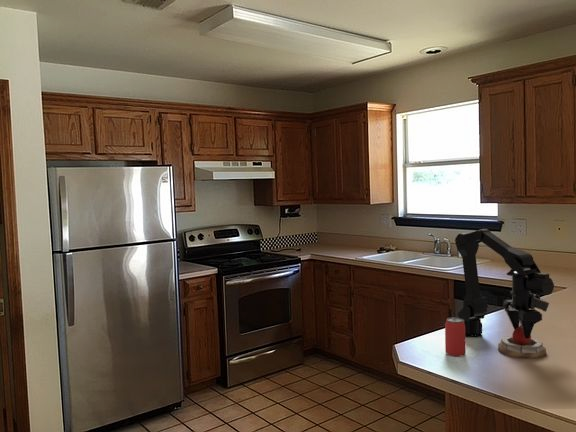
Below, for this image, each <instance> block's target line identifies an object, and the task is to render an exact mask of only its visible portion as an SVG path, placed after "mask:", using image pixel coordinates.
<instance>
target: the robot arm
mask: <svg viewBox="0 0 576 432" xmlns="http://www.w3.org/2000/svg"><path fill="white" fill-rule="evenodd" d="M454 242H455V247H456V250H457V251H458V253H459V255H461V257H462V258H461V260H462V266H463V275H464V284H465V292H466V293H465V296H464V299H463V302H462V306H463V307H462V308H461V310H459V311H458V313H457V318H460V319H463V320H464V321H463V322H464V324H465V338H466V337H467V338H468V337H469V338H470V337H471V338H472V337H483V322H482V319H485V315H486V313H488V308H489V305H488V298H487V297H486V296H483V294H482V293H481V290H480V281H479V273H478V265H477V253H478V251H479V247H480V243H483V244H484V245H486V246H487V247H488V248H489V249H491V250H492V251H494V253H496V254H498V255H499V256H501V257H502V258H503V260H504V262H505V265H507V266H508V267H509V268H510V270H508V272H507V273H506V275H507V276H511V277H512V278H511V282H512V283H511V285H512V286H511V291H509V295H510V296H511V297H512V298H511V299H505V300H504V301H503V302H502V308H503V309H504V311H505V312H506V315H507V317H508V319H509V321H510V323H511V325H512V327H513V331H514V330H515V329H516V328H517V327H519V326H520V325H521V327H522V330H523V333H524V336H525V338H526V339H529V337H530V335H531V336H532V331H533V329H534V327H535V324H537V323H540V322H541V321H543V314H542V313H541V312H540V311H539V310H542V311H543V312H547V310H548V307H549V305H550V303H549V302H548V301H546V300H543V299H541V296H540V295H541V294H542V295H546V296H549V295H551V294H552V292H553V291H554V289H555V284H554V282H553V279H552V278H551V277H550V274H549V273H542V272H541V270H540V268H539V266H538V265H537V264H536V262H535V260H534V257H533V255H532V254H531V253H528V252H527V251H525V250H523V249H518V248H515V247H513V246H512V245H510V244H508V243H507V242H506V241H504V240H502V239H501V238H500V237H498V236H497V235H496V234H494V233H492V231H491V230H489V229H487V228H483V229H478V230H475V231H472V232H463V233H462V232H461V233H458V234H457V235H456V237H455V239H454ZM535 293H536V294H535ZM538 294H540V295H538ZM538 309H539V310H538Z"/></svg>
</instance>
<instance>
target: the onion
mask: <svg viewBox="0 0 576 432" xmlns="http://www.w3.org/2000/svg"><path fill="white" fill-rule="evenodd" d="M511 336H512V337H513V340H514V341H515V343H516V344H518V345H521V346H525V345H527V344H528V343H529V342H530V341H531V338H532V334H531V335H530V337H529V339H526V338H525V336H524V333H523V330H522V327H521V324H519V327H517V328H516V329H515V330H514V329H513V332H512V335H511Z"/></svg>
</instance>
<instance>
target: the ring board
mask: <svg viewBox="0 0 576 432" xmlns="http://www.w3.org/2000/svg"><path fill="white" fill-rule="evenodd" d="M497 350H498V352H499V353H501V354H503V355H505V356H508V357H512V358H517V359H526V360H533V359H536V360H537V359H541V358H544V357H546V356H547V349H546V347H545V346H544V343H543V342H542V341H541V340H539V339H537V338H534V337H531V341H530V342H529V343H528V344H527V345H525V346H521V345H518V344H516V343H515V341H514V340H513V337H512V335H508V336H505V337H503V338H501V339H500V342H499V343H498V344H497Z"/></svg>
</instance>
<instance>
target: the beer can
mask: <svg viewBox="0 0 576 432" xmlns="http://www.w3.org/2000/svg"><path fill="white" fill-rule="evenodd" d="M463 321H464V320H463V319H460V318H459V317H448V318H446V321H445V324H444V337H445V341H444V342H445V344H444V346H445V353H446V354H447V355H448V356H450V357H451V356H452V357H459V358H460V357H462V356H463V357H464V356H465V355H466V353H467V349H466V348H467V347H466V336H465V324H464V322H463Z"/></svg>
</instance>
